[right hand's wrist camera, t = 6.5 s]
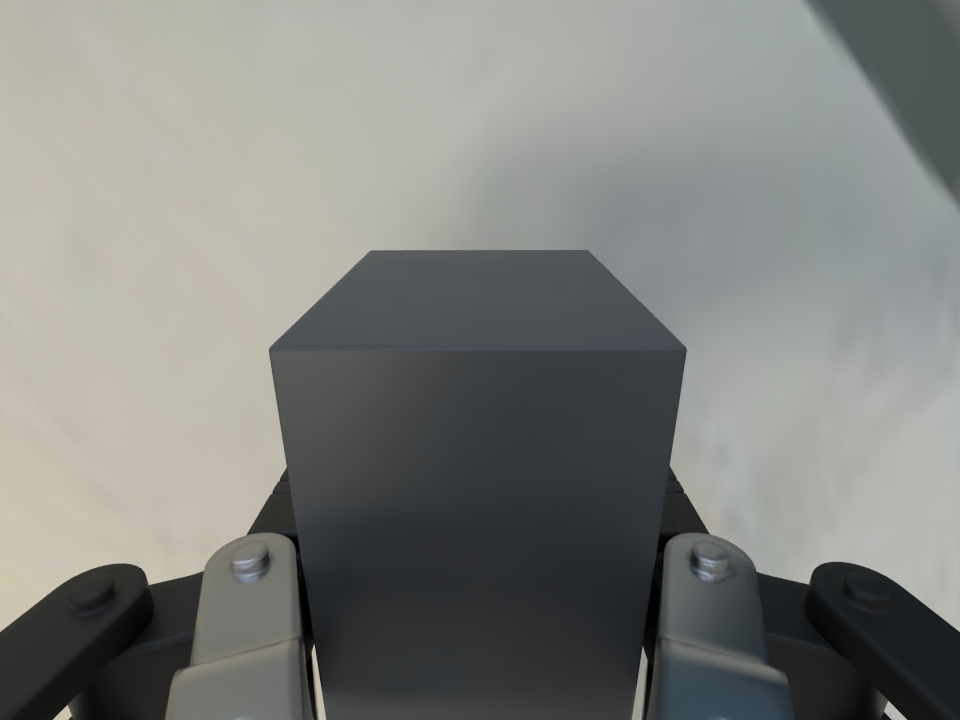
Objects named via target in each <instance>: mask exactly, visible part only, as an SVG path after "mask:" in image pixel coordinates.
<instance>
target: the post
mask: <svg viewBox="0 0 960 720" xmlns="http://www.w3.org/2000/svg"><path fill="white" fill-rule="evenodd" d="M686 352H687V349H686V347H685V346H684V345H683V344H682V343H681V342H680V341H679V340H678V339H677V338H676V337H675V336H674V335H673V334H672V333H671V332H670V331H669V330H668V329H667V328H666V327H665V326H664V325H663V324H662V323H661V322H660V321H659V320H658V319H657V318H656V317H655V316H654V315H653V314H652V313H651V312H650V311H649V310H648V309H647V308H646V307H645V306H644V305H643V304H642V303H641V302H640V301H639V300H638V299H637V298H636V297H635V296H634V295H633V294H632V293H631V292H630V291H629V290H628V289H627V288H626V287H625V286H624V285H623V284H622V283H621V282H620V281H618V280H617V279H616V278H615V277H614V276H613V275H612V274H611V273H610V272H609V271H608V270H607V269H606V268H605V267H604V266H603V265H602V264H601V263H600V262H599V261H598V260H597V259H596V258H595V257H594V256H593V255H592V254H591V253H590V252H589V251H588V250H412V251H370V252H369V253H368V254H366V255H365V256H364V257H363V258H362V259H361V260H360V261H359V262H358V263H357V264H356V265H355V266H354V267H353V268H352V269H351V270H350V271H349V272H348V273H347V274H346V275H345V276H344V277H343V278H342V279H340V280H339V281H338V282H337V283H336V284H335V285H334V286H333V287H332V288H331V289H330V290H329V291H328V292H327V293H326V294H325V295H324V296H323V297H322V298H321V299H320V300H319V301H318V302H317V303H316V304H315V305H313V306H312V307H311V308H310V309H309V310H308V311H307V312H306V313H305V314H304V315H303V316H302V317H301V318H300V319H299V320H298V321H297V322H296V323H295V324H294V325H293V326H292V327H291V328H290V329H289V330H287V331H286V332H285V333H284V334H283V335H282V336H281V337H280V338H279V339H278V340H277V341H276V342H275V343H274V344H273V345H272V346H271V347H270V348H269V354H270V361H271V367H272V374H273V380H274V387H275V393H276V399H277V406H278V412H279V419H280V425H281V431H282V438H283V444H284V451H285V457H286V464H287V470H288V476H289V483H290V489H291V496H292V502H293V508H294V515H295V521H296V528H297V534H298V541H299V547H300V553H301V560H302V566H303V573H304V579H305V585H306V592H307V598H308V605H309V611H310V617H311V624H312V630H313V637H314V643H315V650H316V656H317V662H318V669H319V675H320V682H321V688H322V694H323V701H324V707H325V714H326V720H632V713H633V706H634V699H635V693H636V686H637V679H638V673H639V666H640V659H641V653H642V646H643V639H644V633H645V626H646V619H647V613H648V606H649V599H650V592H651V586H652V579H653V572H654V566H655V559H656V552H657V546H658V539H659V532H660V526H661V519H662V512H663V506H664V499H665V492H666V485H667V479H668V472H669V465H670V459H671V452H672V445H673V439H674V432H675V425H676V419H677V412H678V405H679V399H680V392H681V385H682V378H683V372H684V365H685V358H686Z"/></svg>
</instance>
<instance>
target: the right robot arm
mask: <svg viewBox="0 0 960 720" xmlns="http://www.w3.org/2000/svg"><path fill="white" fill-rule="evenodd" d="M313 646H314V637H313V630H312V624H311V617H310V611H309V605H308V598H307V592H306V585H305V579H304V573H303V566H302V560H301V553H300V547H299V541H298V534H297V528H296V521H295V515H294V508H293V502H292V496H291V489H290V483H289V476H288V470H287V468H286V470H285V471H284V473H283V475H282V476H281V478H280V481H278V483H277V485H276V486H275V488H274V490H273V494H271V495H270V496H269V498H268V500H267V501H266V503H265V505H264V507H263V508H262V510H261V512H260V513H259V515H258V517H257V518H256V520H255V522H254V523H253V525H252V527H251V528H250V530H249V532H248V533H247V535H246V536H243V537H241V538H238V539H236V540H234V541H231V542H229V543H228V544H226V545H224V546H223V547H222V548H220V549H219V550H218V551H217V552H216V553H214V554H213V555H212V557H211V558H210V559H209V560H208V562H207V564H206V566H205V569H204V571H203V572H200V573H197V574H194V575H190V576H187V577H183V578H178V579H174V580H169V581H165V582H161V583H156V584H152V585H149V584H148V581H147V578H146V575H145V572H144V571H143V570H142V569H141V568H139V567H137V566H135V565H131V564H110V565H105V566H101V567H97V568H94V569H91V570H88V571H86V572H83V573H81V574H79V575H77V576H75V577H73V578H71V579H70V580H68V581H66V582H65V583H63V584H62V585H60V586H59V587H57V588H56V589H55V590H53V591H52V592H51V593H50V594H48V595H47V596H46V597H45V598H43V599H42V600H41V601H39V602H38V603H37V604H36V605H34V606H33V607H32V608H30V609H29V610H28V611H27V612H25V613H24V614H23V615H22V616H20V617H19V618H18V619H16V620H15V621H14V622H13V623H11V624H10V625H9V626H7V627H6V628H5V629H4V630H2V631H1V632H0V720H53V719H54V718H55V717H56V716H57V715H58V714H59V713H60V712H61V711H62V710H63V709H64V708H65V707H66V706H67V705H68V707H69V709H70V712H71V714H72V717H71V718H70V719H69V720H319V718H318V706H317V695H316V684H315V672H314V665H313V659H312V649H313ZM643 648H644V651H645V654H646V657H647V665H646V673H645V684H644V695H643V707H642V718H641V720H891V719H890V718H889V717H888V716H887V715H886V713H885V712H884V710H885V707H886V705H887V702H888V701H889V702H890V703H891V704H892V705H893V706H894V707H895V708H896V709H897V710H898V711H899V712H900V713H901V714H902V715H903V716H904V717H905V718H906V719H907V720H960V632H959V631H958V630H956V629H955V628H954V627H952V626H951V625H950V624H949V623H947V622H946V621H945V620H944V619H942V618H941V617H940V616H938V615H937V614H936V613H935V612H933V611H932V610H931V609H929V608H928V607H927V606H926V605H924V604H923V603H922V602H921V601H919V600H918V599H917V598H915V597H914V596H913V595H912V594H910V593H909V592H908V591H906V590H905V589H904V588H903V587H901V586H900V585H899V584H897V583H896V582H894V581H893V580H891V579H889V578H888V577H886V576H884V575H882V574H880V573H878V572H876V571H874V570H871V569H869V568H866V567H863V566H860V565H856V564H851V563H845V562H829V563H824V564H821V565H819V566H818V567H816V568H815V570H814V571H813V573H812V576H811V579H810V583H809V585H808V584H803V583H799V582H795V581H790V580H786V579H782V578H777V577H773V576H769V575H765V574H761V573H758V572H756V569H755V566H754V564H753V562H752V560H751V559H750V558H749V557H748V555H747V554H746V553H745V552H743V551H742V550H741V549H740V548H738V547H737V546H736V545H734V544H732V543H731V542H729V541H726V540H724V539H722V538H719V537H717V536H713V535H710V534H709V532H708V531H707V529H706V527H705V525H704V524H703V522H702V520H701V519H700V517H699V515H698V514H697V512H696V510H695V508H694V507H693V505H692V503H691V502H690V500H689V498H688V496H687V495H686V494H684V490H683V488H682V486H681V485H680V483H679V481H677V479H676V476H675V474H674V473H673V471H672V469H671V468H670V466H669V472H668V479H667V485H666V492H665V499H664V506H663V512H662V519H661V526H660V532H659V539H658V546H657V552H656V559H655V566H654V572H653V579H652V586H651V592H650V599H649V606H648V613H647V619H646V626H645V633H644V639H643Z"/></svg>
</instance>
